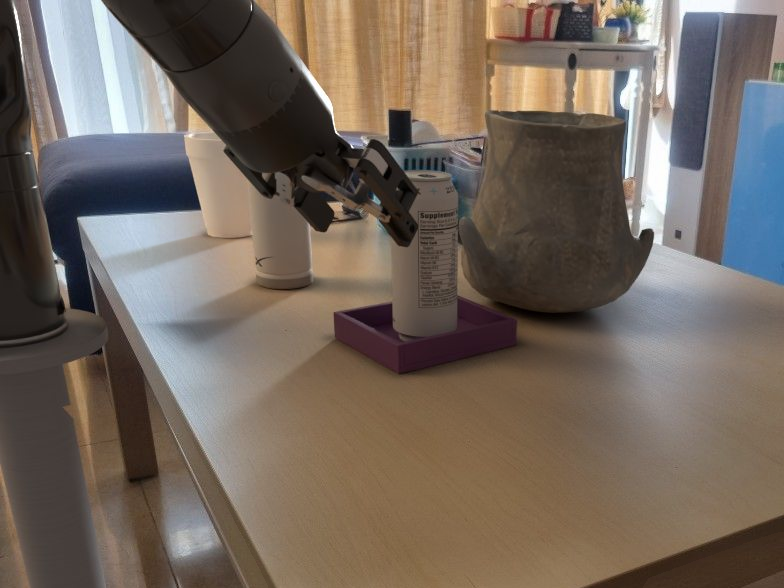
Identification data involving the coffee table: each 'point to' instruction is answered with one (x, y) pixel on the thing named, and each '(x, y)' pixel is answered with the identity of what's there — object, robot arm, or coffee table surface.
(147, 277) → the coffee table surface
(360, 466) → the coffee table surface
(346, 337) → the tray
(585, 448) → the coffee table surface
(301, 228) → the travel mug
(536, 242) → the vessel
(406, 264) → the energy drink can
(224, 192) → the foam cup
